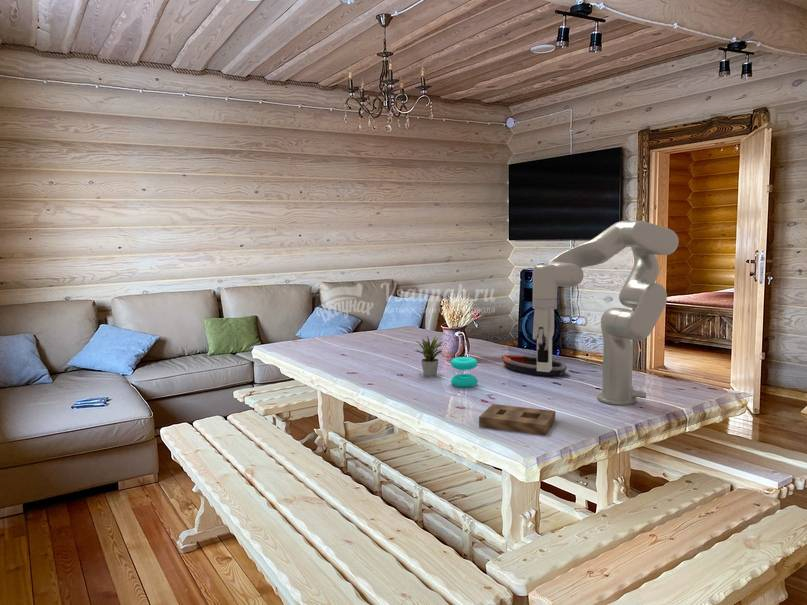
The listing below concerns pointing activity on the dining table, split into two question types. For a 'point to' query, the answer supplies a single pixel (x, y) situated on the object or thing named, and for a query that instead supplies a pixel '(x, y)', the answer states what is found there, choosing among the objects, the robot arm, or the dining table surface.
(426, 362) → the house plant
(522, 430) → the walnut bore plate
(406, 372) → the dining table surface
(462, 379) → the donuts
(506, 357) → the dish
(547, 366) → the steel square peg
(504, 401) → the dining table surface
